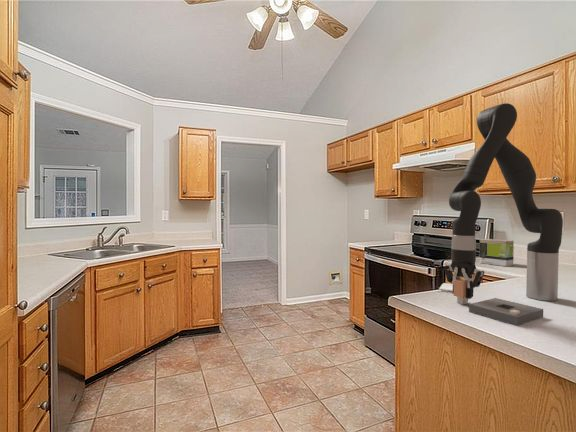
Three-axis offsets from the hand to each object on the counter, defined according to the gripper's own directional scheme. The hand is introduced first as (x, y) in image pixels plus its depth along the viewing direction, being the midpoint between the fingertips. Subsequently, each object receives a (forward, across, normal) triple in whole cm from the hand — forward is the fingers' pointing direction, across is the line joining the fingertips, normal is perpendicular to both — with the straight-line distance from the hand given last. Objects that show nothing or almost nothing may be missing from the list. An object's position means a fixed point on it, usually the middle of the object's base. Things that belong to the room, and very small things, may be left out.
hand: (462, 296), depth 114 cm
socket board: (+2, -14, 0) cm, 14 cm away
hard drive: (+3, +14, -15) cm, 20 cm away
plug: (+2, 0, 0) cm, 2 cm away
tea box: (+3, +40, -96) cm, 104 cm away
